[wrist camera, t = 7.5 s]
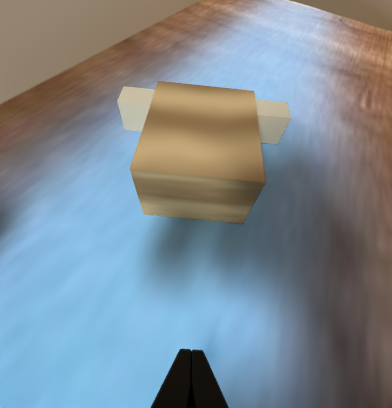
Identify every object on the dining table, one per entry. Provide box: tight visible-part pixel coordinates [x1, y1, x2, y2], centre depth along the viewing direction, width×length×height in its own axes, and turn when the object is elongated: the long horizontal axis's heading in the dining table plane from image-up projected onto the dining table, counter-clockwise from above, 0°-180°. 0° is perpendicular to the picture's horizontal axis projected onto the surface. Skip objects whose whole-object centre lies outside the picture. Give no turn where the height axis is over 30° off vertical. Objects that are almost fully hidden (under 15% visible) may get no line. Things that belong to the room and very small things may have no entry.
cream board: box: [118, 87, 291, 144], centre depth 27 cm, size 3×20×4 cm, turn 86°
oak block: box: [130, 81, 266, 224], centre depth 22 cm, size 12×10×7 cm
